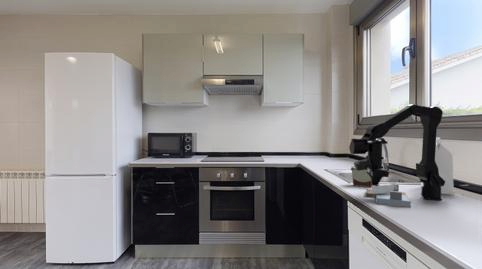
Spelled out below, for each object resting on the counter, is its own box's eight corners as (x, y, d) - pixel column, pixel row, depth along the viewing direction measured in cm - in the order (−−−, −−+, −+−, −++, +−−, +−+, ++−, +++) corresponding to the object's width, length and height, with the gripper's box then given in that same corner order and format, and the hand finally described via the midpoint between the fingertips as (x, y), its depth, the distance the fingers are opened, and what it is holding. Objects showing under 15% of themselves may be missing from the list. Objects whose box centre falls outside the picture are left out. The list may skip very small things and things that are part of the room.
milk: (453, 194, 131) (455, 138, 131) (424, 192, 136) (425, 137, 136) (447, 189, 142) (448, 137, 142) (420, 187, 147) (421, 137, 146)
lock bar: (393, 190, 127) (393, 183, 127) (400, 192, 124) (400, 184, 124) (370, 192, 123) (370, 184, 123) (376, 194, 120) (376, 186, 120)
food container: (375, 185, 151) (376, 166, 151) (375, 187, 146) (376, 168, 146) (351, 183, 157) (351, 165, 156) (350, 185, 151) (350, 166, 151)
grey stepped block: (407, 200, 120) (407, 188, 119) (410, 206, 110) (410, 193, 110) (376, 197, 125) (376, 185, 125) (376, 203, 115) (376, 190, 115)
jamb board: (405, 195, 128) (405, 190, 128) (407, 200, 120) (407, 195, 120) (366, 192, 135) (366, 187, 135) (366, 196, 127) (366, 191, 127)
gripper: (351, 151, 135) (350, 183, 136) (360, 156, 116) (359, 194, 117) (376, 151, 133) (375, 184, 134) (389, 157, 114) (388, 195, 115)
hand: (374, 189), depth 125 cm, fingers closed
